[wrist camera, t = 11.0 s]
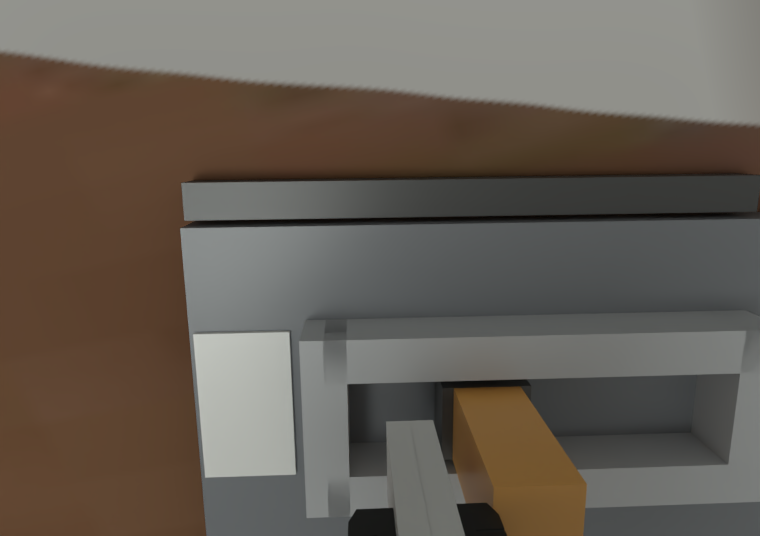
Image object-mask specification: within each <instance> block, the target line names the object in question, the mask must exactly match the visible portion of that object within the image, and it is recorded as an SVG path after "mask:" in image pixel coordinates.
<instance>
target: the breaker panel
mask: <svg viewBox="0 0 760 536" xmlns="http://www.w3.org/2000/svg"><path fill="white" fill-rule="evenodd" d="M181 185H182V197H183V208H184V220H185V221H194V222H192V223H190V224H188V225H186V226H184V227H182V228H180V232H181V244H182V256H183V267H184V279H185V290H186V302H187V314H188V325H189V337H190V348H191V360H192V372H193V383H194V395H195V406H196V418H197V430H198V441H199V453H200V464H201V476H202V488H203V499H204V511H205V522H206V534H207V536H348V522H349V520H350V519H351V517H352V515H353V514H354V512H355V511H356V509H375V508H388V499H387V438H386V422H387V421H416V420H433V422H434V411H435V382H443V381H480V380H517V379H527V381H528V382H529V383H530V385H531V403H532V404H533V406H534V407H535V409H536V410H537V411H538V413H539V414H540V416H541V417H542V419H543V420H544V422H545V423H546V425H547V426H548V428H549V429H550V431H551V432H552V434H553V435H554V436H555V438H556V439H557V441H558V442H559V444H560V445H561V447H562V448H563V450H564V451H565V453H566V454H567V456H568V457H569V458H570V460H571V461H572V463H573V464H574V466H575V467H576V469H577V470H578V472H579V473H580V475H581V476H582V478H583V479H584V481H585V482H586V483H587V492H586V505H585V518H584V532H583V536H760V212H757V207H758V199H759V191H760V175H751V174H738V173H734V174H658V175H581V176H505V177H429V178H352V179H276V180H199V181H188V182H183V183H181ZM705 212H738V213H705ZM642 213H675V214H642ZM578 214H612V215H578ZM515 215H549V216H515ZM452 216H485V217H452ZM388 217H422V218H388ZM325 218H359V219H325ZM261 219H296V220H261ZM198 220H232V221H198ZM444 462H445V465H446V469H447V472H448V476H449V480H450V483H451V487H452V490H453V494H454V498H455V501H456V504H464V503H466V502H465V499H464V495H463V492H462V489H461V485H460V482H459V479H458V476H457V472H456V469H455V466H454V463H453V459H448V460H444Z"/></svg>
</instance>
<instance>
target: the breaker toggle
mask: <svg viewBox="0 0 760 536" xmlns="http://www.w3.org/2000/svg"><path fill="white" fill-rule="evenodd" d="M434 426H435V429H436V433H437V436H438V440H439V444H440V447H441V451H442V454H443V458H444V460H448V459H453V463H454V466H455V469H456V472H457V476H458V479H459V482H460V485H461V489H462V492H463V495H464V499H465V502H466V503H488V504H489V505H490V506H491V507H492V508H493V509H494V510H495V511H496V512H497V513H498V514H499V516H500V518H501V521H502V523H503V526H504V530H505V531H506V534H507V536H583V532H584V518H585V505H586V492H587V483H586V482H585V481H584V479H583V478H582V476H581V475H580V473H579V472H578V470H577V469H576V467H575V466H574V464H573V463H572V461H571V460H570V458H569V457H568V456H567V454H566V453H565V451H564V450H563V448H562V447H561V445H560V444H559V442H558V441H557V439H556V438H555V436H554V435H553V434H552V432H551V431H550V429H549V428H548V426H547V425H546V423H545V422H544V420H543V419H542V417H541V416H540V414H539V413H538V411H537V410H536V409H535V407H534V406H533V404H532V403H531V385H530V383H529V382H528V381H527V379H517V380H480V381H443V382H435V411H434Z"/></svg>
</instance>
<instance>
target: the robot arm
mask: <svg viewBox="0 0 760 536" xmlns="http://www.w3.org/2000/svg"><path fill="white" fill-rule="evenodd" d="M386 438H387V499H388V508H375V509H356V511H355V512H354V514H353V515H352V517H351V519H350V520H349V522H348V536H507V534H506V531H505V530H504V526H503V523H502V521H501V518H500V516H499V514H498V513H497V512H496V511H495V510H494V509H493V508H492V507H491V506H490V505H489V504H488V503H464V504H456V501H455V498H454V494H453V490H452V487H451V483H450V480H449V476H448V472H447V469H446V465H445V462H444V458H443V454H442V451H441V447H440V444H439V440H438V436H437V433H436V429H435V426H434V422H433V420H416V421H387V422H386Z"/></svg>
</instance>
